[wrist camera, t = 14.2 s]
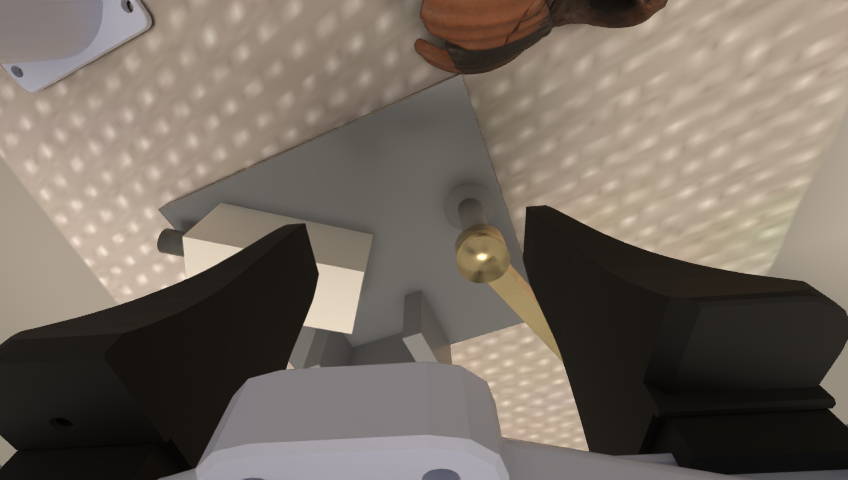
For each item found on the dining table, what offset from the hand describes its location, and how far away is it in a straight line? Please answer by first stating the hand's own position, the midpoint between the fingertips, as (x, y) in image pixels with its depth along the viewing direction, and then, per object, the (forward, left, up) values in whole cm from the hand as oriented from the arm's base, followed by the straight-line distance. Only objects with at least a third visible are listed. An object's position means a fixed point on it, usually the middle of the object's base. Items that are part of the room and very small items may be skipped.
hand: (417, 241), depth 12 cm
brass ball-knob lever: (+9, +3, -5) cm, 11 cm away
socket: (+5, -6, -10) cm, 13 cm away
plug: (+2, -10, -9) cm, 14 cm away
